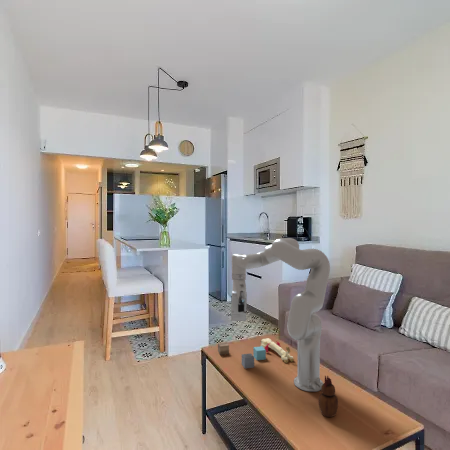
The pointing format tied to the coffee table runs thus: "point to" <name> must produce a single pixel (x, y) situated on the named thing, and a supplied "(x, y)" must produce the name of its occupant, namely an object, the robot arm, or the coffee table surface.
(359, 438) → the coffee table surface
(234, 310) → the skincare box
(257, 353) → the teal block
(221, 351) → the walnut block
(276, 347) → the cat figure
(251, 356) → the charcoal block
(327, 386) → the wooden figurine
